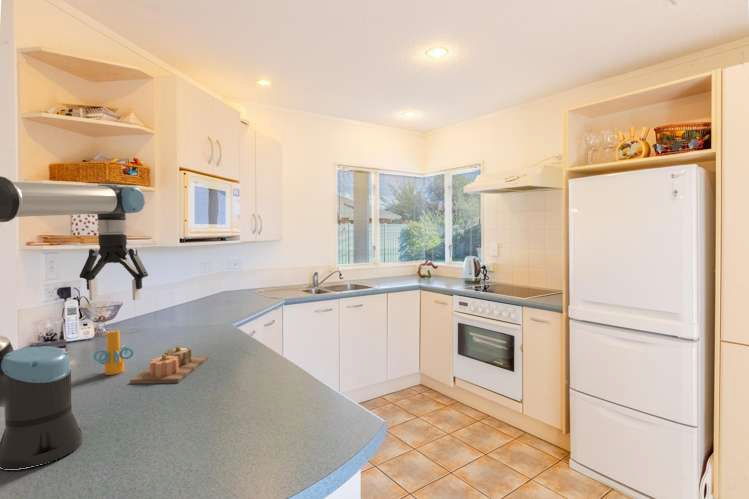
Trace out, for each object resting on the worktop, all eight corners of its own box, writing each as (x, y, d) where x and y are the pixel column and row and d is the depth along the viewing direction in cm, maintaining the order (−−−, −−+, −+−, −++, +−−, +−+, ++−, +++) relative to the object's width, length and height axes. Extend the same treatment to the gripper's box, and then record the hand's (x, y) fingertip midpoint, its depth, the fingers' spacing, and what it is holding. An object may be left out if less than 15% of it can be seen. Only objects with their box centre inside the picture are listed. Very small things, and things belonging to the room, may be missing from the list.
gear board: (178, 382, 132) (178, 361, 132) (130, 383, 132) (129, 362, 131) (207, 359, 156) (206, 341, 156) (166, 360, 156) (165, 342, 155)
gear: (171, 376, 135) (170, 363, 134) (144, 377, 134) (144, 363, 134) (183, 367, 143) (182, 355, 143) (158, 367, 143) (158, 355, 143)
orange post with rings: (112, 379, 136) (110, 336, 135) (87, 377, 138) (85, 335, 137) (140, 367, 147) (138, 327, 147) (116, 365, 150) (115, 326, 149)
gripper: (158, 233, 130) (160, 297, 131) (81, 234, 130) (84, 298, 131) (145, 233, 123) (147, 301, 124) (64, 234, 122) (67, 302, 123)
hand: (115, 299), depth 127 cm, fingers open, 13 cm apart
